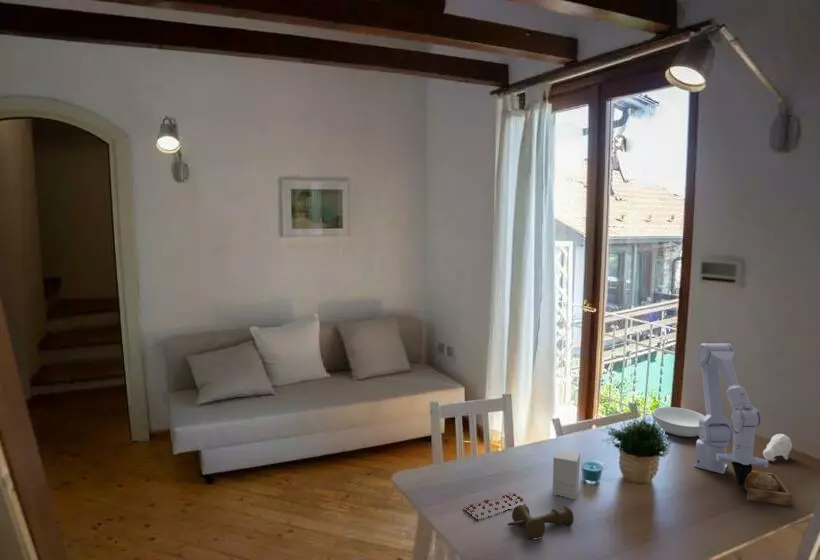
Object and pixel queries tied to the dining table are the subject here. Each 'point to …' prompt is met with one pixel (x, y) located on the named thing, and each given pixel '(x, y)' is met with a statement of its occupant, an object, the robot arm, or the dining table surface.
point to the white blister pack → (495, 503)
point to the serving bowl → (678, 420)
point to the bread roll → (761, 482)
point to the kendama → (540, 520)
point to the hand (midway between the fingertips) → (739, 484)
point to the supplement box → (566, 473)
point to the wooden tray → (771, 493)
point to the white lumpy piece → (778, 447)
